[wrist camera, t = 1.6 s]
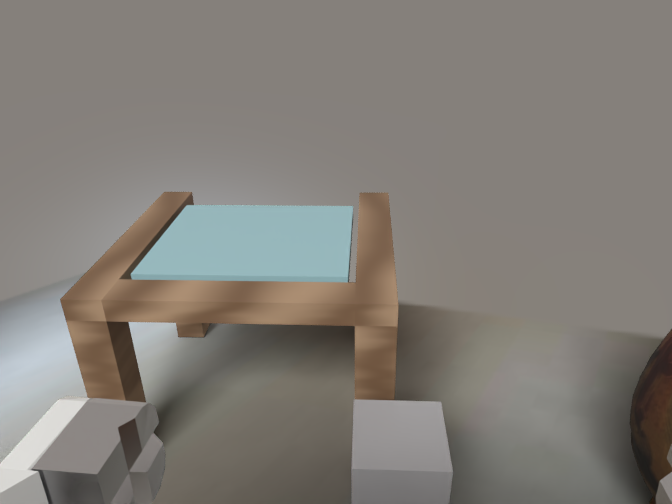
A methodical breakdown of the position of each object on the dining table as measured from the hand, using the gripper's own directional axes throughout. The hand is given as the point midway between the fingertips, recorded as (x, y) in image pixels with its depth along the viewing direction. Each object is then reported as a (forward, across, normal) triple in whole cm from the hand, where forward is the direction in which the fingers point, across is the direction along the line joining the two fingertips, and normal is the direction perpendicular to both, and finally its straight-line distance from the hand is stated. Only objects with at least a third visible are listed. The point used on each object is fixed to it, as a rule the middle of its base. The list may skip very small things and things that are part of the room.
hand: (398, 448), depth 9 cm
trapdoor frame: (+30, -11, -22) cm, 39 cm away
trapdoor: (+29, -11, -10) cm, 33 cm away
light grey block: (+16, 0, -23) cm, 28 cm away
